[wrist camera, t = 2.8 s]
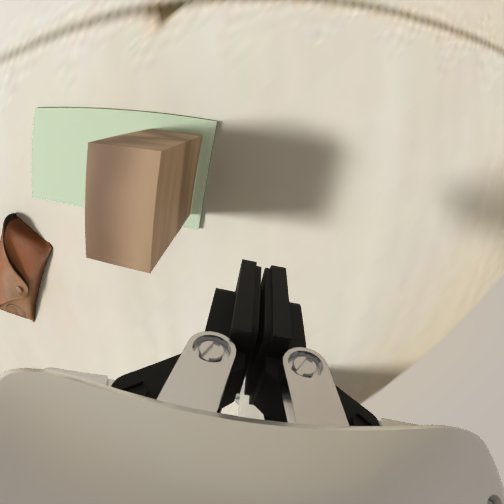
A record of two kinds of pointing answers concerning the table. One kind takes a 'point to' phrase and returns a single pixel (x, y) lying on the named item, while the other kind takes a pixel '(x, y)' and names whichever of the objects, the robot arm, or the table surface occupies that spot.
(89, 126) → the felt mat
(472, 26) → the table surface
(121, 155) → the walnut block
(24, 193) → the table surface
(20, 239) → the sunglasses case
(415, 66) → the table surface
